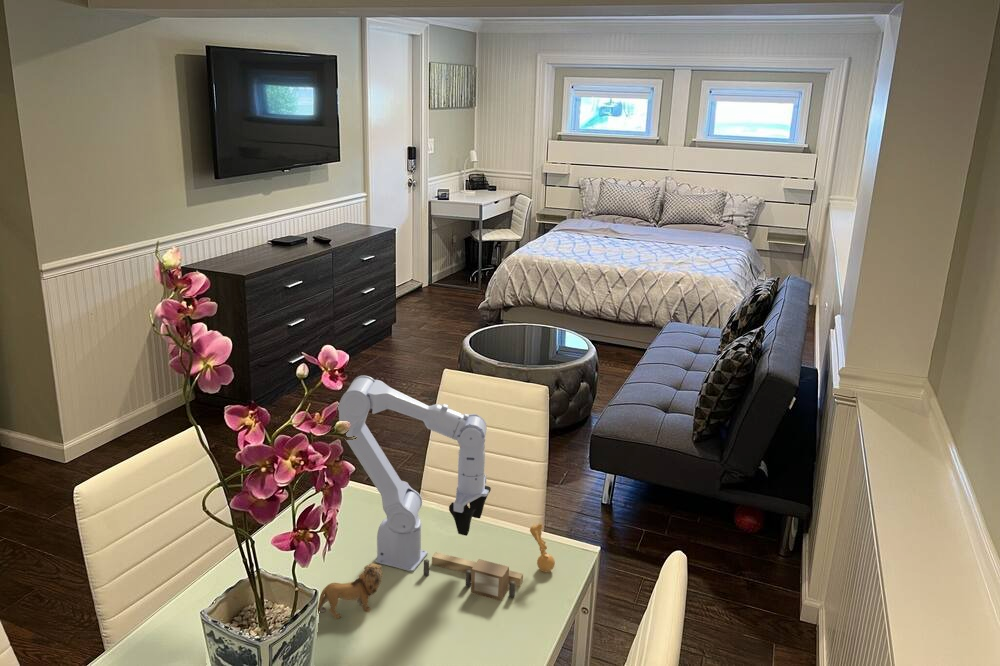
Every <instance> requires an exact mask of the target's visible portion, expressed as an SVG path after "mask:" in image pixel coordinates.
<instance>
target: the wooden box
mask: <svg viewBox="0 0 1000 666" xmlns="http://www.w3.org/2000/svg"><path fill="white" fill-rule="evenodd" d="M475 562H476V564H475V565H474V566H473V568H472V573H471V587H470V593H471V594H473V595H474V594H475V595H476V596H477V595H478V596H481V597H486V598H489V599H492V600H495V601H500V602H502V601H503V600H504V599H505V596H506V595H507V593H508V591H509V584H508V580H509V570H510V566H508V565H503V564H500V563H496V562H493V561H492V562H491V561H488V560H484V559H480V558H478V559H477V560H476V561H475Z"/></svg>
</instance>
